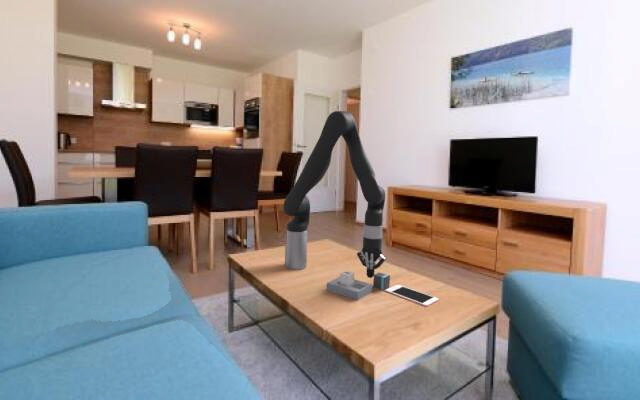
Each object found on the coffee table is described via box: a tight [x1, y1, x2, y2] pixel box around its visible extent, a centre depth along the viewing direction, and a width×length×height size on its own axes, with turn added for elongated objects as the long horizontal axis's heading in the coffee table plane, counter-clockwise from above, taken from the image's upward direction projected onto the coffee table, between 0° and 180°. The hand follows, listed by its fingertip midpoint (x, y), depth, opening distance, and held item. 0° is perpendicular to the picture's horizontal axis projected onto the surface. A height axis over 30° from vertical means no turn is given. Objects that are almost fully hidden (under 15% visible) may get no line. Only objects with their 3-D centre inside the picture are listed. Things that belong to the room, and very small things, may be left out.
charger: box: [339, 270, 355, 286], centre depth 132 cm, size 4×4×7 cm
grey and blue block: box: [372, 272, 391, 291], centre depth 136 cm, size 5×4×5 cm
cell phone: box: [384, 284, 439, 308], centre depth 129 cm, size 9×18×1 cm, turn 43°
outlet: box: [326, 276, 373, 301], centre depth 132 cm, size 14×10×3 cm
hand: (370, 277), depth 140 cm, fingers closed
